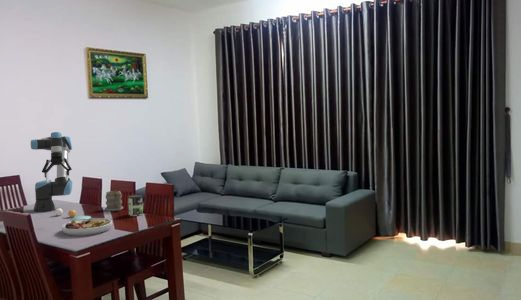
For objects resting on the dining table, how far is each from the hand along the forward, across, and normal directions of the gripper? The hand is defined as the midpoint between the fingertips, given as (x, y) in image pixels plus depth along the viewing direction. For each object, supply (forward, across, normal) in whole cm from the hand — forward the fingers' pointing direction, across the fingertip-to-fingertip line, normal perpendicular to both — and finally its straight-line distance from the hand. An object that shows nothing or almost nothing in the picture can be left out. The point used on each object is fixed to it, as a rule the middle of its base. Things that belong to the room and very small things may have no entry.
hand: (57, 180), depth 314 cm
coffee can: (+30, +53, +6) cm, 62 cm away
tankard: (+23, +35, +26) cm, 49 cm away
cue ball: (+21, -3, +13) cm, 25 cm away
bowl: (+42, +29, -34) cm, 61 cm away
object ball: (+24, +8, +5) cm, 26 cm away
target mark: (+29, +15, +1) cm, 33 cm away
